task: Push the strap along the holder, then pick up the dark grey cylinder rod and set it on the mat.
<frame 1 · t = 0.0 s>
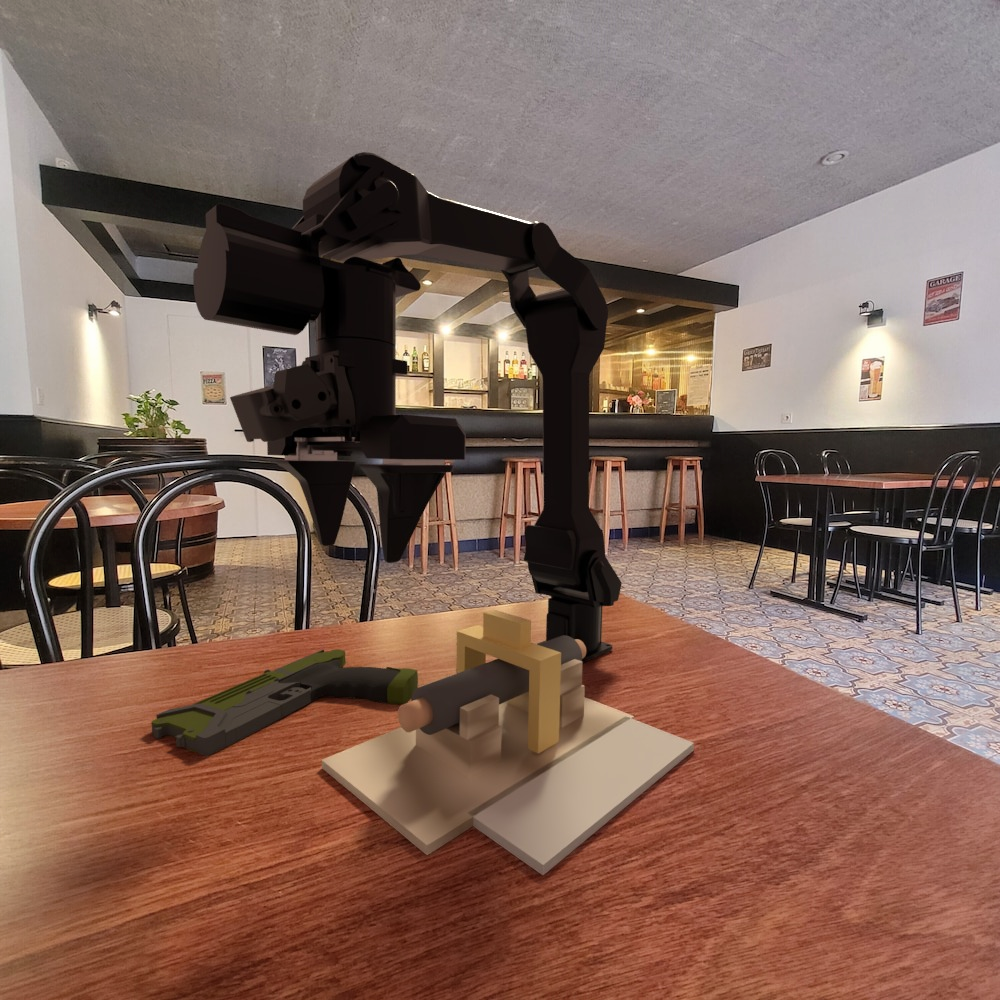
hand: (357, 553, 42), 15 cm above the table, tool pointing down, fingers open, 9 cm apart
mat: (593, 782, 38), on the table
holder: (504, 736, 44), on the table
dark grey cylinder rod: (505, 678, 44), point 5 cm above the table, touching holder
strap: (505, 671, 44), point 5 cm above the table, slide at 0.0 cm
gun: (303, 713, 49), on the table
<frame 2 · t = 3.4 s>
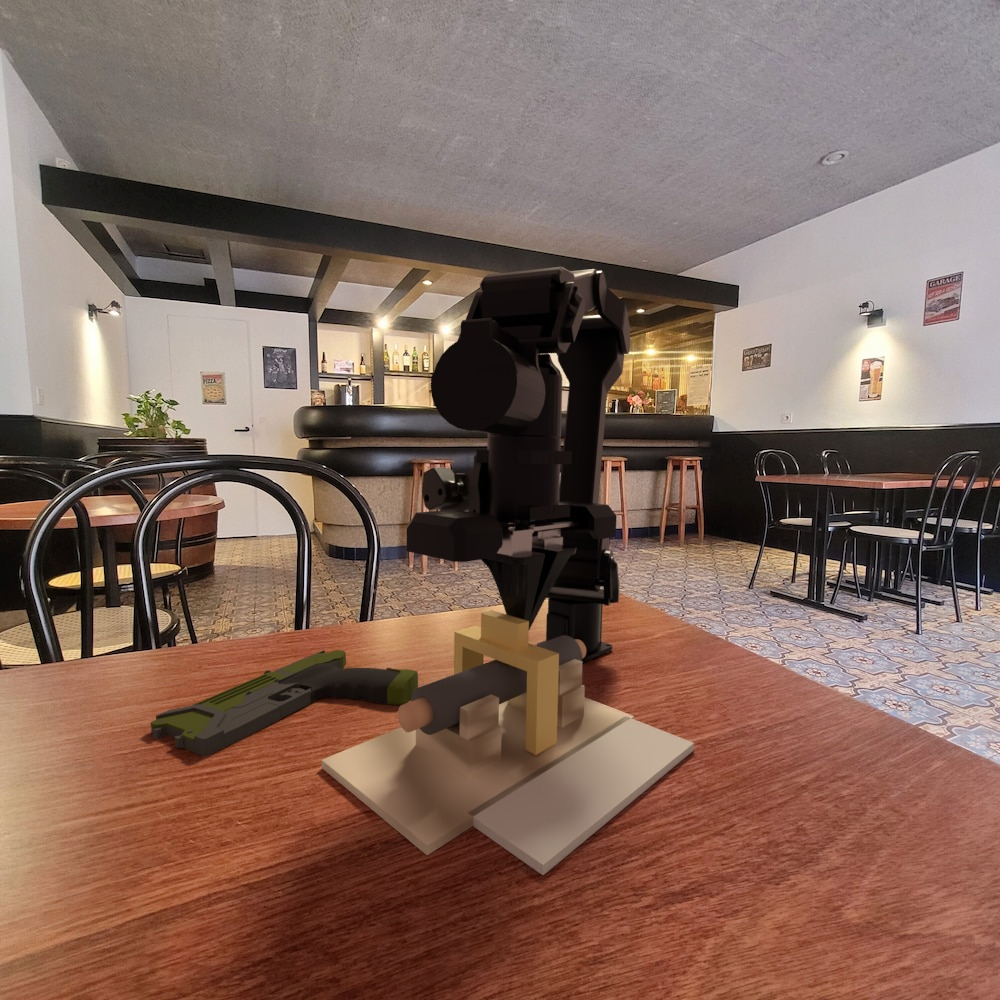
hand: (519, 633, 44), 8 cm above the table, tool pointing down, fingers closed
strap: (503, 672, 43), point 5 cm above the table, slide at 0.3 cm, touching gripper
everything else where it was.
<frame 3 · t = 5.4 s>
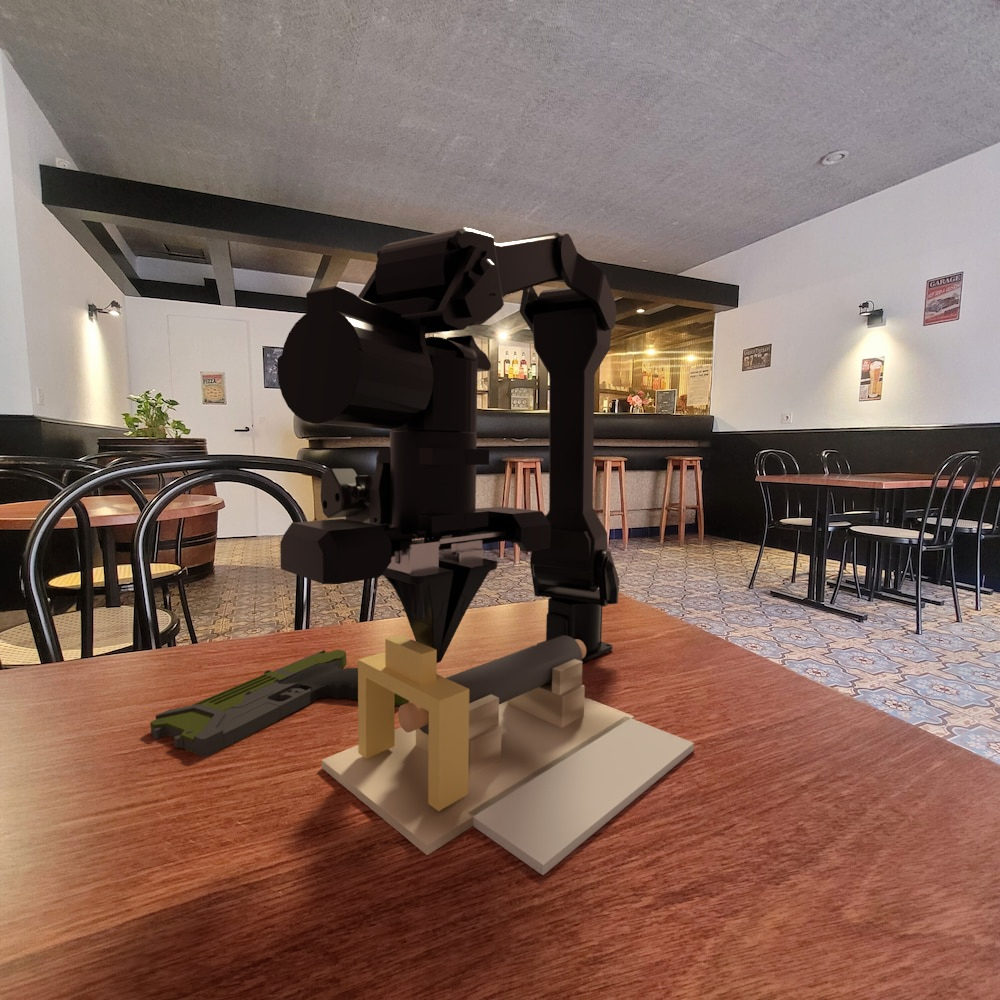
hand: (431, 662, 38), 8 cm above the table, tool pointing down, fingers closed
strap: (410, 708, 37), point 5 cm above the table, slide at 9.3 cm, touching gripper
everything else where it was.
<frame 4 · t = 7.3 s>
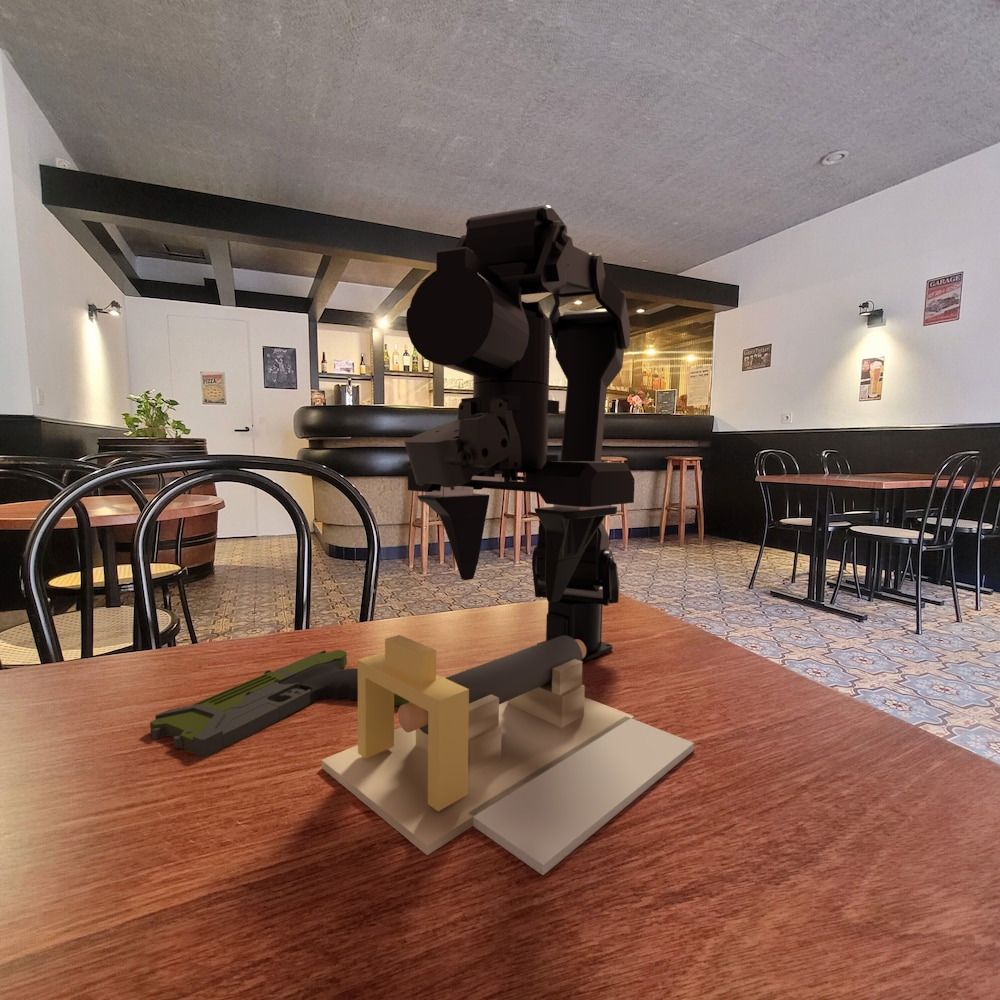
hand: (507, 589, 43), 12 cm above the table, tool pointing down, fingers open, 9 cm apart
strap: (409, 709, 37), point 5 cm above the table, slide at 9.3 cm
everything else where it was.
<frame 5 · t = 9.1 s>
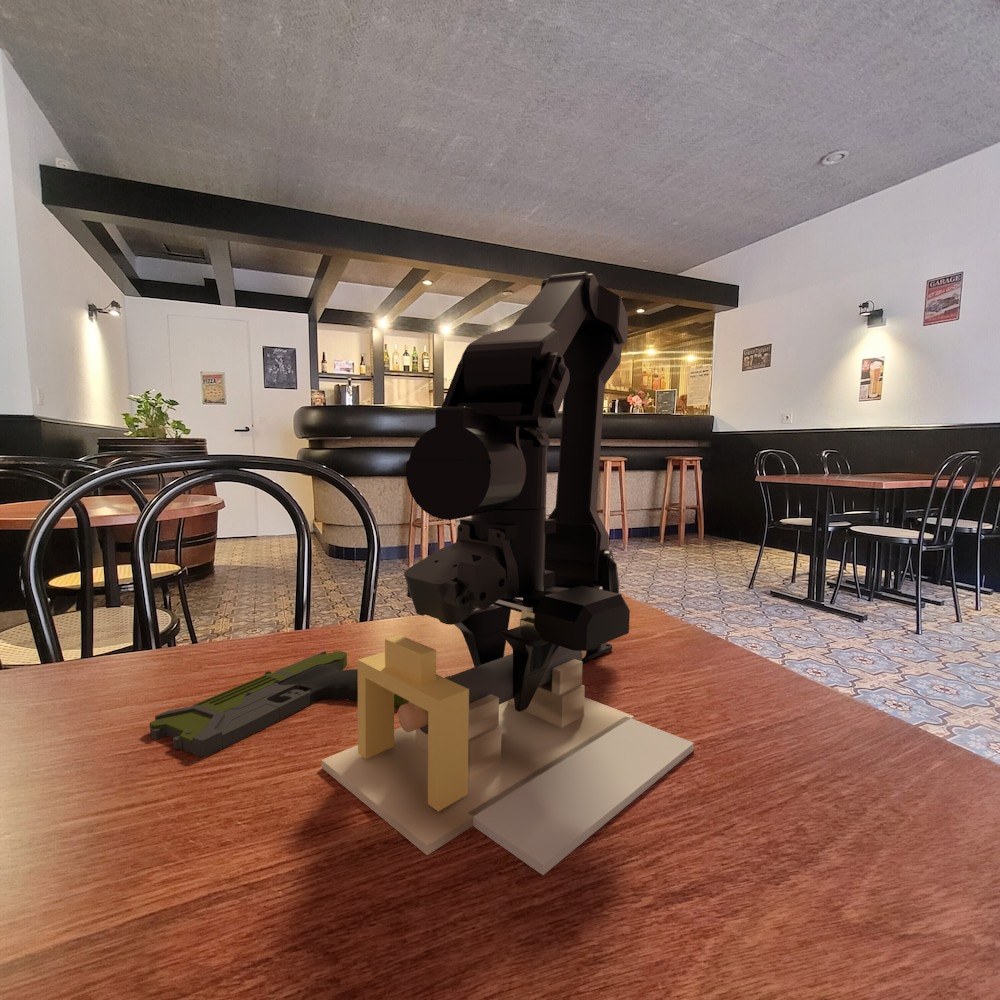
hand: (505, 702, 44), 3 cm above the table, tool pointing down, fingers closed on dark grey cylinder rod, 3 cm apart
dark grey cylinder rod: (505, 678, 44), point 5 cm above the table, touching gripper, holder
everything else where it was.
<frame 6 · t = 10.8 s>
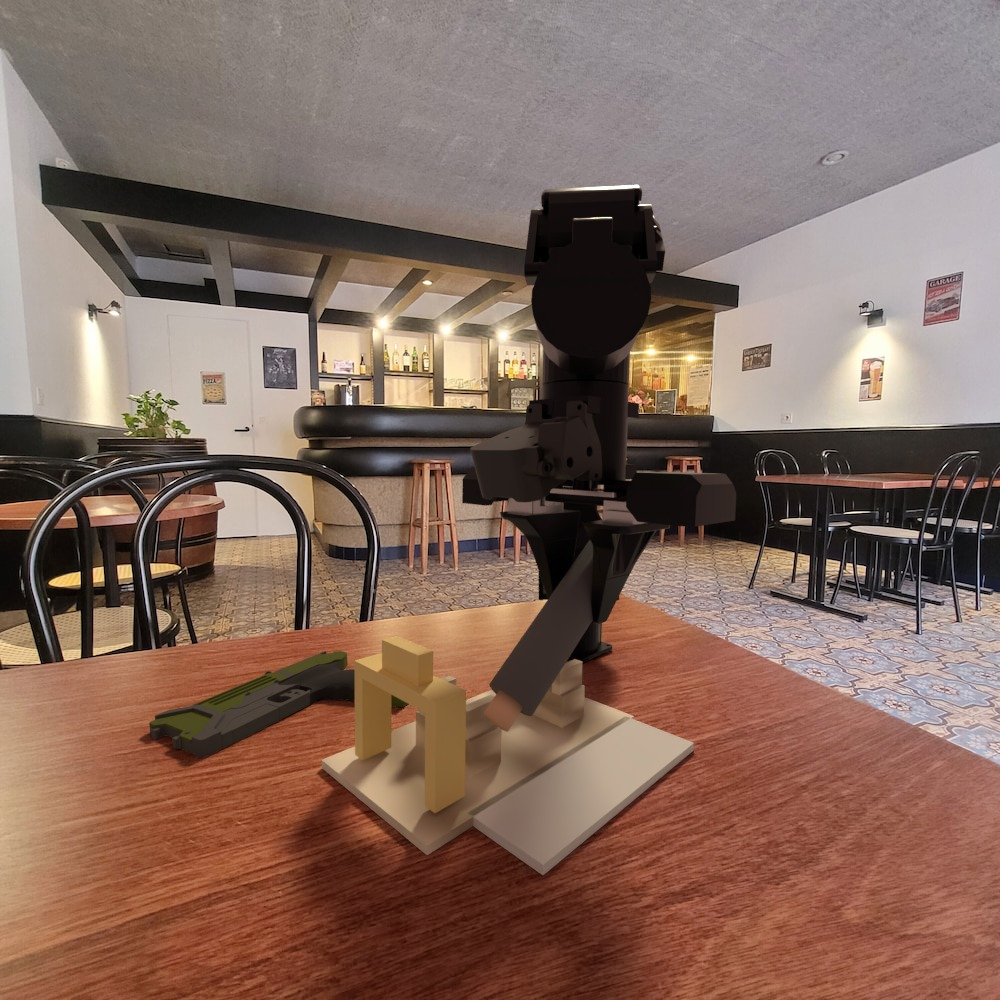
hand: (578, 616, 38), 11 cm above the table, tool pointing down, fingers closed on dark grey cylinder rod, 3 cm apart
dark grey cylinder rod: (576, 600, 38), point 13 cm above the table, tilted 41°, touching gripper
everything else where it was.
when the fingers open (2 cm above the table, at t = 12.9 s): dark grey cylinder rod drops 2 cm, resting on mat.
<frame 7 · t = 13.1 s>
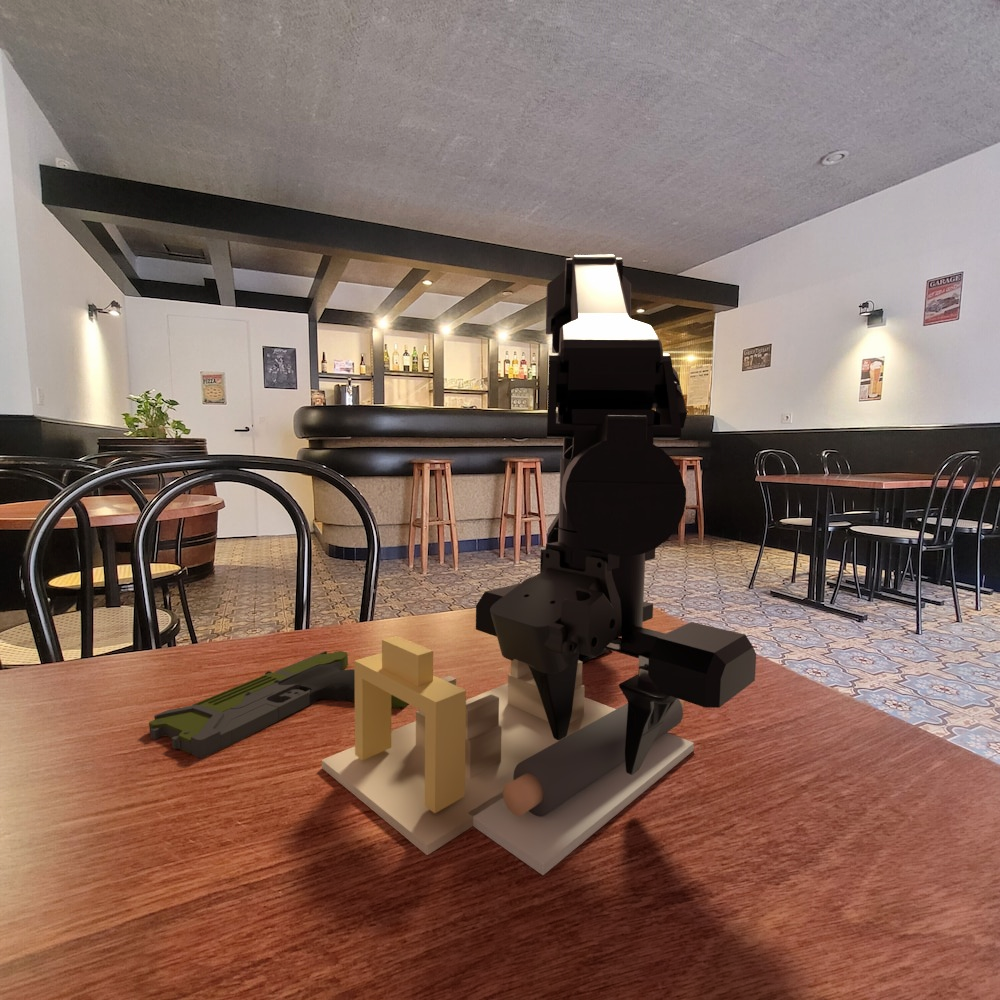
hand: (594, 754, 38), 2 cm above the table, tool pointing down, fingers open, 6 cm apart
dark grey cylinder rod: (607, 741, 39), point 2 cm above the table, tilted 8°, touching mat
everything else where it was.
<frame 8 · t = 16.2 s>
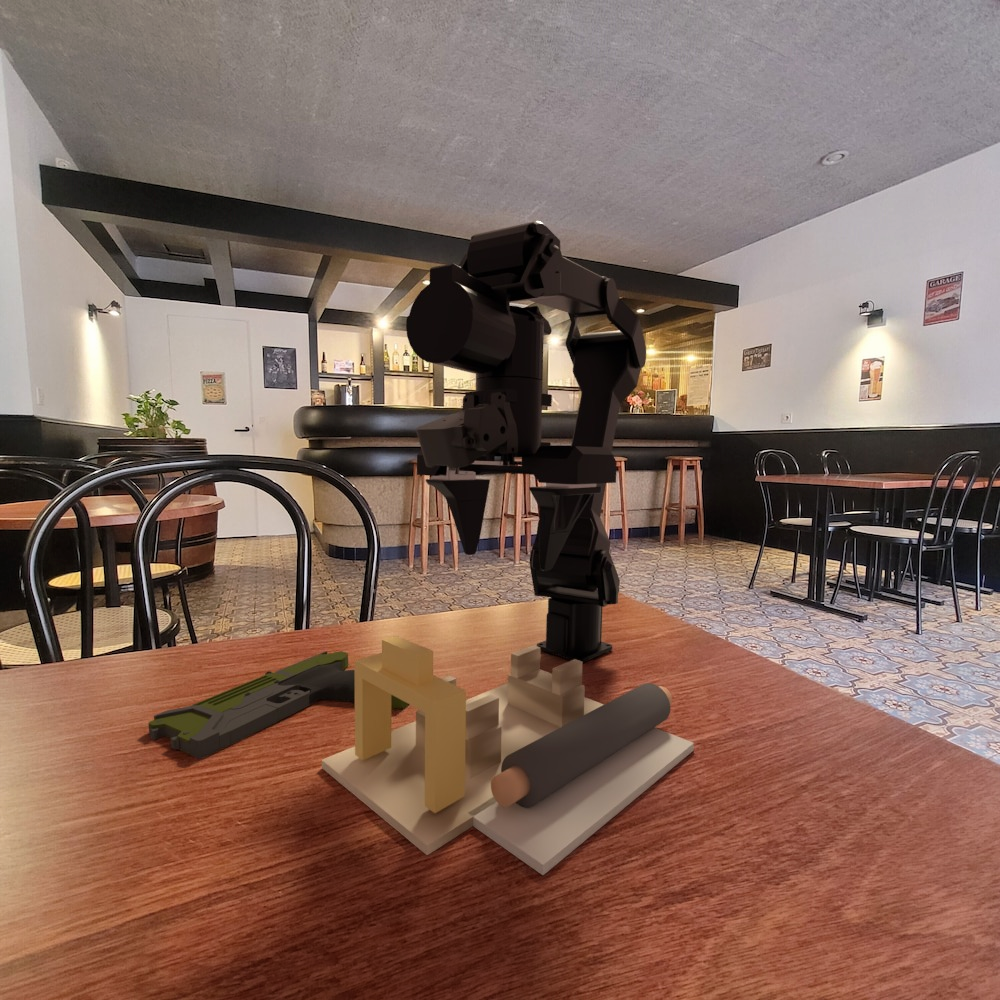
hand: (505, 561, 48), 13 cm above the table, tool pointing down, fingers open, 9 cm apart
dark grey cylinder rod: (595, 736, 40), point 2 cm above the table, tilted 47°, touching mat
everything else where it was.
at the end: strap slide at 9.5 cm; dark grey cylinder rod inside the target area on the mat (2.2 cm from its centre), point 2.2 cm above the mat's base; the gripper is holding nothing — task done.
